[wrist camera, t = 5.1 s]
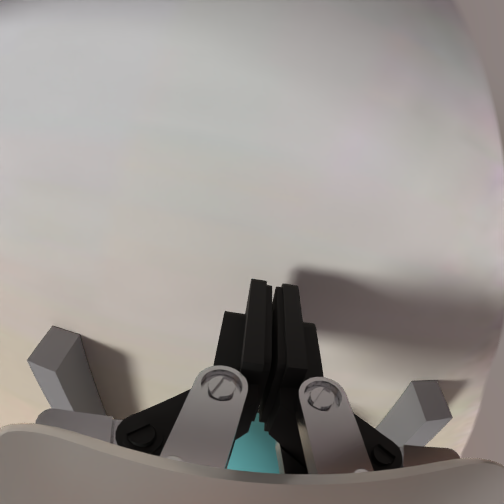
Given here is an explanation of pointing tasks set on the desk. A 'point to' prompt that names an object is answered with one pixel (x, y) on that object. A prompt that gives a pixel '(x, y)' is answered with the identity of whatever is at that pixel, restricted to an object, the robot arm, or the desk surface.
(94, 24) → the desk surface
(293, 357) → the robot arm
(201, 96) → the desk surface
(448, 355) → the desk surface
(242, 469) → the ball
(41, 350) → the pin pen
